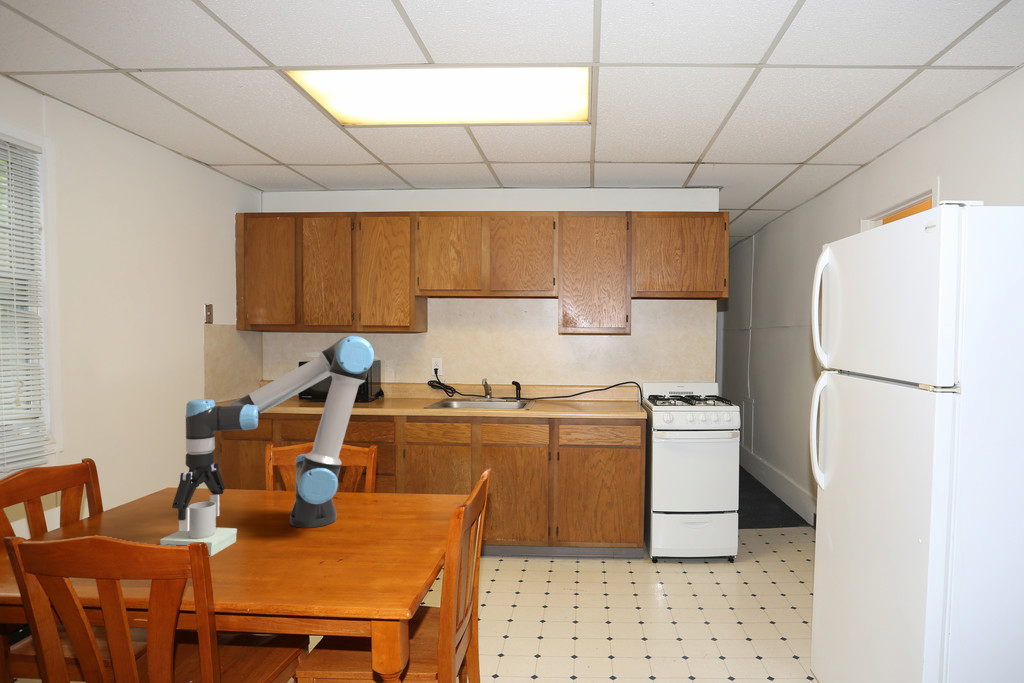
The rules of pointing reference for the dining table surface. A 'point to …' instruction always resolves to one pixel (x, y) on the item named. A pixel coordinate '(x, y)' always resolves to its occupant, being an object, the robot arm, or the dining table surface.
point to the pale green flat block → (204, 539)
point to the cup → (202, 519)
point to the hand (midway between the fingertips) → (199, 523)
